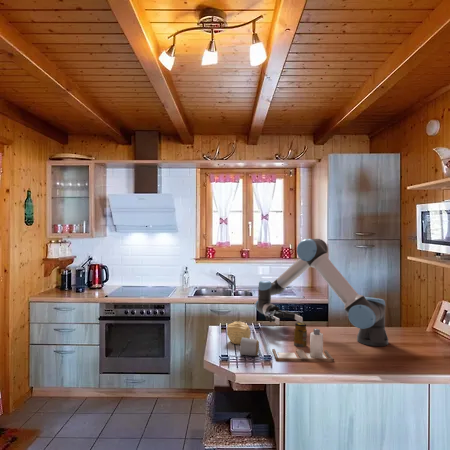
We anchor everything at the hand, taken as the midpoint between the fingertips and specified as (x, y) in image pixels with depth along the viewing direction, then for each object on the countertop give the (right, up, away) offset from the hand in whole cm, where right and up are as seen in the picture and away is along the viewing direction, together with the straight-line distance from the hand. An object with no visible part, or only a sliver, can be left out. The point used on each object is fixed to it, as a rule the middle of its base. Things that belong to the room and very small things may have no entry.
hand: (290, 320), depth 184 cm
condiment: (+3, -11, -9) cm, 15 cm away
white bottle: (+7, -9, -24) cm, 27 cm away
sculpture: (-27, -11, -2) cm, 29 cm away
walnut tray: (+1, -11, -24) cm, 27 cm away
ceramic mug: (-23, -11, -18) cm, 31 cm away
